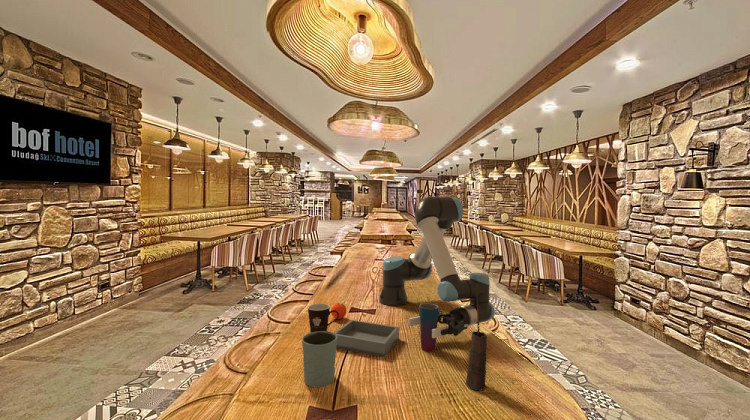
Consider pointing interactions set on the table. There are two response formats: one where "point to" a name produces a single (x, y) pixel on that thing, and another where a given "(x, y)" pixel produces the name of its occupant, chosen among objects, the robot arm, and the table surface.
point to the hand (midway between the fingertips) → (420, 327)
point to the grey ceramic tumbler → (319, 358)
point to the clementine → (339, 310)
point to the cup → (428, 325)
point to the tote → (367, 337)
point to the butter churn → (477, 357)
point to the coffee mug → (319, 317)
